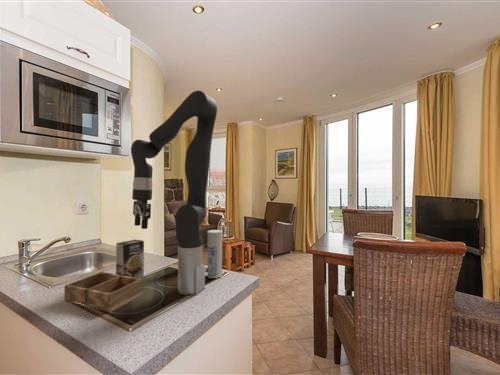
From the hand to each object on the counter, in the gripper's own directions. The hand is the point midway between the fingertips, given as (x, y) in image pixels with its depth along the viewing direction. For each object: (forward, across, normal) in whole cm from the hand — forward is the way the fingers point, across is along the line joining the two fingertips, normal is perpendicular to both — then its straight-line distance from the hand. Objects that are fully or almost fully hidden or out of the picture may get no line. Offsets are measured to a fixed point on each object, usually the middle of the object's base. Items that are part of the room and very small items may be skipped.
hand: (140, 227), depth 102 cm
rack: (+23, -8, +14) cm, 28 cm away
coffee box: (+23, +4, +2) cm, 23 cm away
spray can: (+21, -17, -27) cm, 38 cm away
